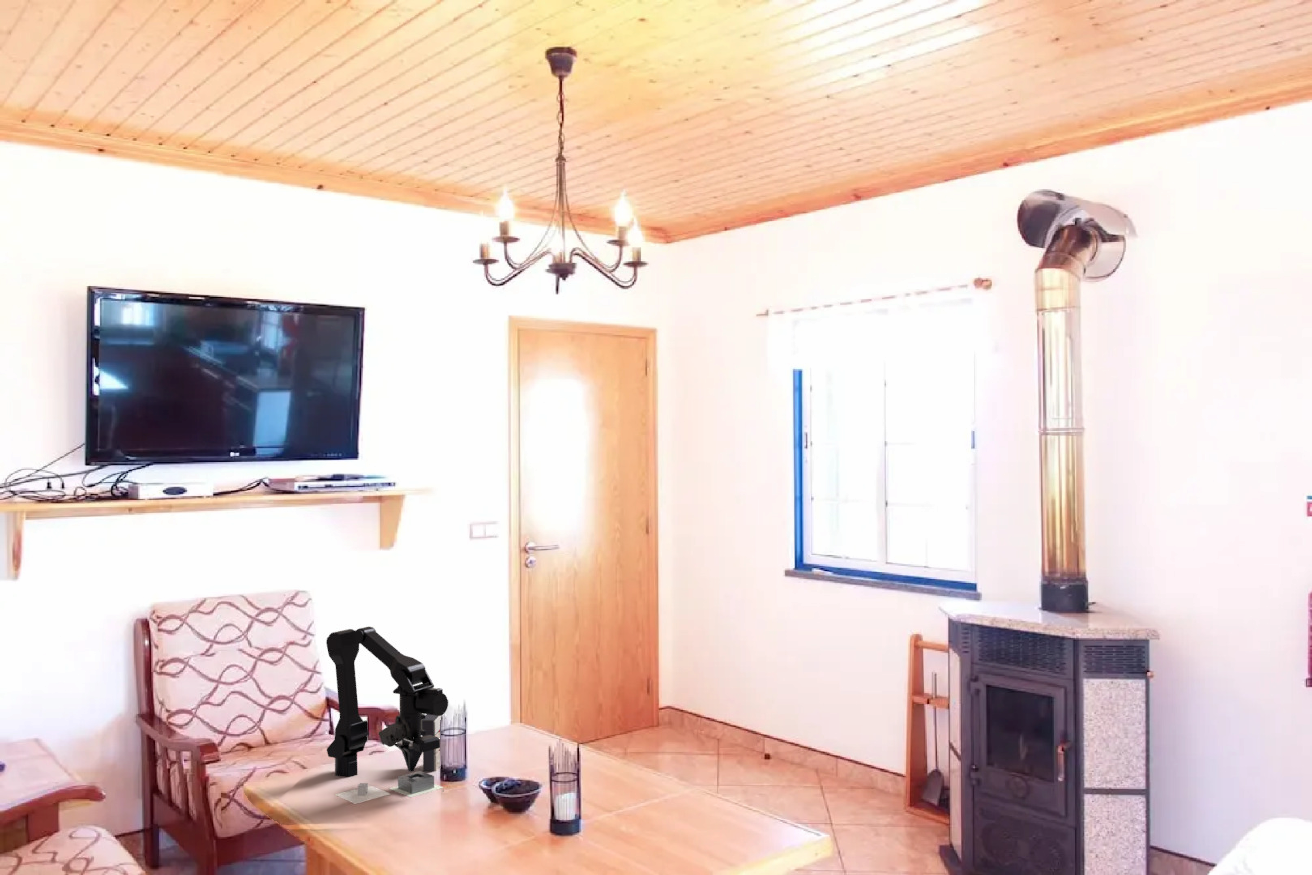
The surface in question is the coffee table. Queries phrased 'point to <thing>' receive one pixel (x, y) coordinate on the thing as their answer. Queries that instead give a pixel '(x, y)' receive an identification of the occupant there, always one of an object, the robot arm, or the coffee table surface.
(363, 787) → the plate stand
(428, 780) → the grey socket block
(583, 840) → the coffee table surface
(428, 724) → the calculator
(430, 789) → the hub board
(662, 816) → the coffee table surface
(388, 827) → the coffee table surface
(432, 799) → the coffee table surface
